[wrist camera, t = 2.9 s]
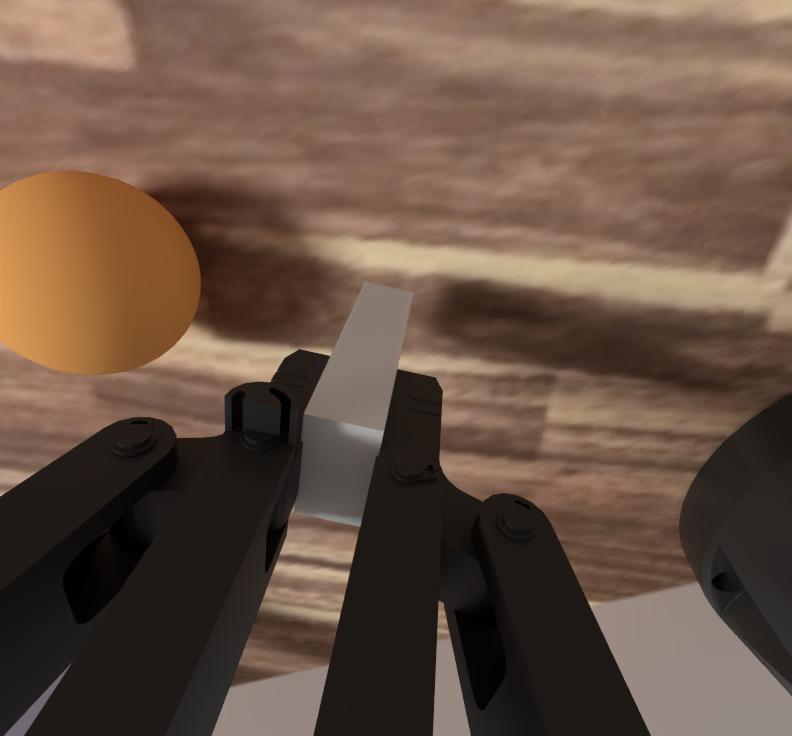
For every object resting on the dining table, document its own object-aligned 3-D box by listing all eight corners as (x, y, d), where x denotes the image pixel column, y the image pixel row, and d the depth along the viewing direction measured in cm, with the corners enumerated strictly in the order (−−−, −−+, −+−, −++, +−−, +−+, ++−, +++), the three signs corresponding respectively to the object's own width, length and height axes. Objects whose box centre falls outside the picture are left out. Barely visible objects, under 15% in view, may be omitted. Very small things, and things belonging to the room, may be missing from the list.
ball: (250, 211, 16) (149, 272, 11) (210, 347, 19) (116, 445, 14) (74, 122, 15) (-126, 142, 10) (62, 279, 18) (-96, 357, 13)
